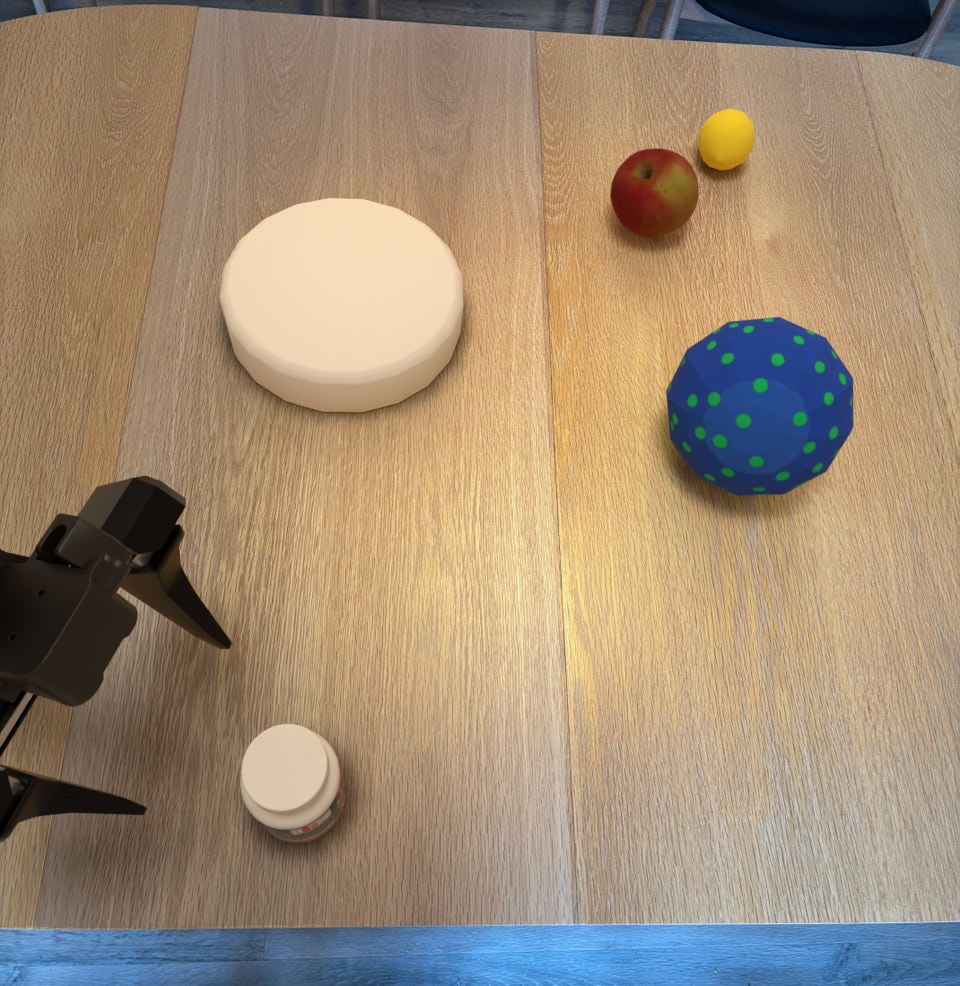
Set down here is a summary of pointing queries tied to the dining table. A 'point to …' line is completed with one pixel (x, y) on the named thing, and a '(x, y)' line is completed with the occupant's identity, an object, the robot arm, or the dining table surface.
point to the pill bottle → (292, 783)
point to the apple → (654, 192)
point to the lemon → (726, 139)
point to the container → (342, 304)
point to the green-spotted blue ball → (760, 406)
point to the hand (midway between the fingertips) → (186, 724)
